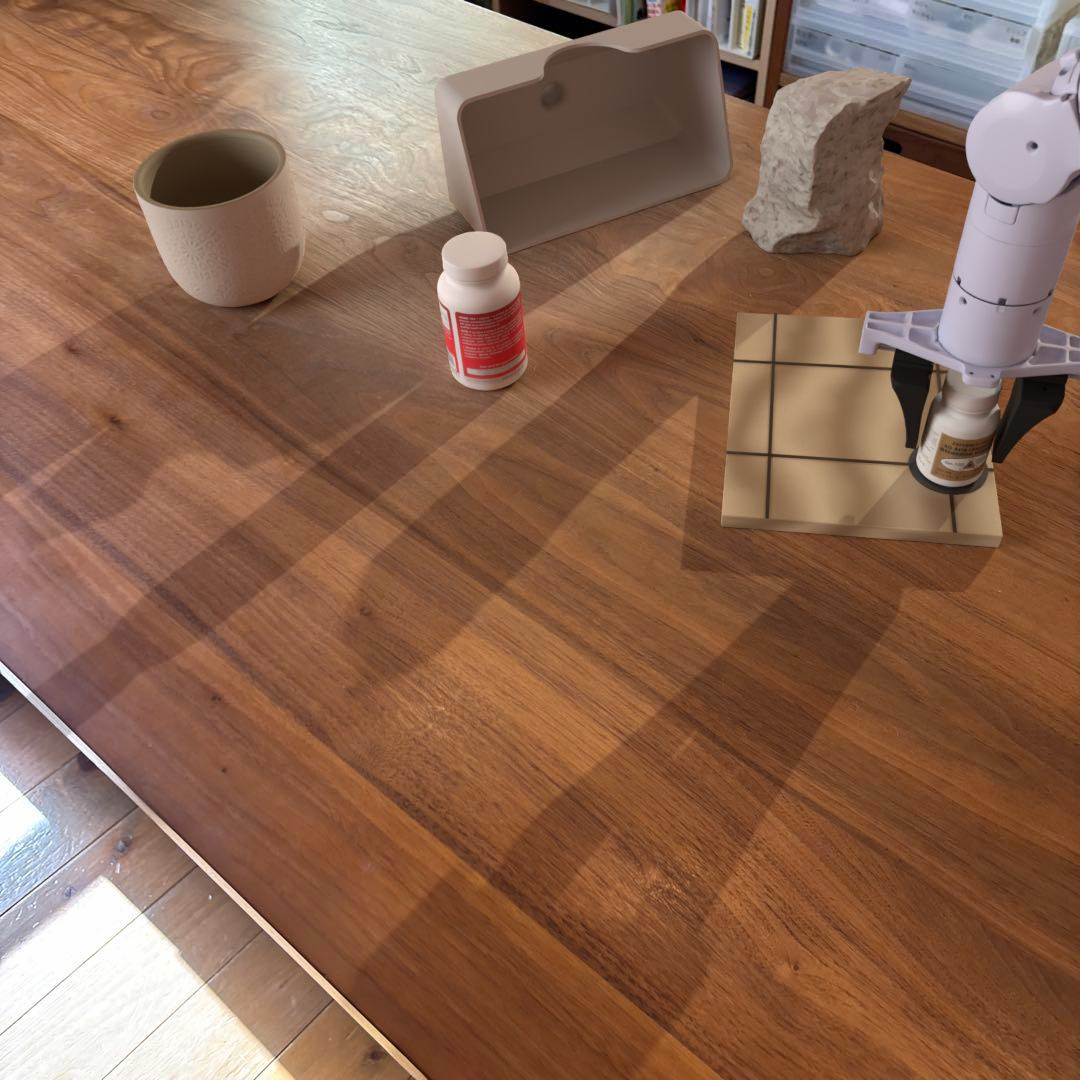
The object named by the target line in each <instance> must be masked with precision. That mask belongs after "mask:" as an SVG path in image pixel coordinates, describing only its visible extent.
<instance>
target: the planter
mask: <svg viewBox="0 0 1080 1080" xmlns="http://www.w3.org/2000/svg"><path fill="white" fill-rule="evenodd" d="M293 179H294V178H293V174H292V171H291V166H290V162H289V159H288V155H287V152H286V149H285V147H284V146H283V144H282V143H281V142H280V141H279V140H277V138H274V136H271V135H269V134H267V133H264V132H262V131H258V130H255V129H246V128H218V129H216V128H215V129H209V130H204V131H200V132H196V133H192V134H188V135H185V136H182V137H179V138H177V139H175V140H172V141H170V142H168V143H166V144H164V145H162V146H160V147H159V148H158V149H156V150H154V151H153V152H152V153H150V154H149V155H148V156H147V157H146V158H145V159H144V160H143V161H141V163H140V164H139V165H138V167H137V168H136V170H135V173H134V175H133V179H132V187H133V190H134V193H135V196H136V198H137V201H138V204H139V206H140V208H141V211H142V213H143V216H144V218H145V221H146V223H147V226H148V228H149V232H150V234H151V237H152V239H153V242H154V244H155V245H156V247H157V250H158V253H159V255H160V257H161V259H162V262H163V264H164V266H165V267H166V269H167V271H168V273H169V275H170V276H171V277H172V279H173V280H174V281H175V282H176V284H177V285H178V286H179V287H180V288H181V289H182V290H183V291H184V292H186V294H188V295H189V296H191V297H192V298H194V299H196V300H198V301H200V302H201V303H205V304H208V305H211V306H215V307H222V308H239V307H240V308H241V307H246V306H247V307H248V306H251V305H255V304H259V303H261V302H265V301H267V300H268V299H271V298H273V297H275V296H276V295H277V294H280V292H282V291H283V290H285V289H286V288H287V287H288V286H289V285H290V284H291V282H292V281H294V279H295V278H296V277H297V275H298V274H299V271H300V270H301V267H302V265H303V261H304V256H305V250H306V249H305V248H306V236H305V227H304V226H305V225H304V222H303V217H302V213H301V212H302V211H301V208H300V203H299V198H298V195H297V191H296V187H295V183H294V180H293Z"/></svg>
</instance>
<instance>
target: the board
mask: <svg viewBox="0 0 1080 1080" xmlns="http://www.w3.org/2000/svg"><path fill="white" fill-rule="evenodd" d="M864 321H865V317H864V318H861V317H844V316H843V317H841V316H840V317H839V316H819V315H799V314H796V315H795V314H778V313H777V312H775V313H754V312H753V313H752V312H737V314H736V321H735V322H736V323H735V325H736V326H735V336H734V337H735V338H734V339H735V340H734V348H733V361H732V362H733V364H732V376H731V389H730V401H729V414H728V424H727V425H728V426H727V438H726V439H727V440H726V451H725V453H726V454H725V464H724V465H725V467H724V477H723V478H724V479H723V490H722V502H721V506H722V507H721V517H720V527H722V528H736V529H747V530H762V531H775V532H786V533H787V532H788V533H802V534H814V535H828V536H839V537H854V538H865V539H866V538H867V539H877V540H878V539H879V540H880V539H881V540H891V541H892V540H893V541H894V540H895V541H905V542H906V541H908V542H919V543H930V544H931V543H932V544H945V545H946V544H947V545H959V546H972V547H974V546H975V547H985V548H997V549H998V548H1000V545H1001V543H1002V540H1003V537H1004V535H1003V533H1004V532H1003V526H1002V521H1001V512H1000V505H999V499H998V492H997V485H996V484H997V483H996V478H995V468H994V464H993V462H991V461H992V449H990V452H989V455H988V457H987V460H986V463H985V466H984V469H983V472H982V474H981V475H980V477H979V478H978V479H977V480H976V481H974V482H973V483H971V484H969V485H965V486H960V487H948V486H943V485H940V484H937V483H935V482H933V481H931V480H929V479H928V478H927V477H925V476H924V475H923V474H922V473H921V471H920V470H919V468H918V466H917V462H916V458H917V453H918V449H919V446H920V442H921V438H922V434H923V431H924V427H925V423H926V419H927V416H928V412H929V408H930V405H931V402H932V400H933V399H934V397H935V396H936V395H937V394H938V393H940V392H941V391H942V386H943V384H944V380H945V377H946V374H947V372H948V371H949V370H950V368H947V367H945V366H942V365H939V364H937V363H934V367H933V371H932V376H931V382H930V389H929V393H928V396H927V399H926V403H925V406H924V409H923V413H922V418H921V425H920V431H919V437H918V443H917V446H916V449H910V448H906V447H905V443H906V428H905V420H904V416H903V411H902V408H901V405H900V402H899V400H898V398H897V395H896V393H895V392H894V390H893V388H892V384H891V378H890V374H891V369H892V363H893V358H894V353H895V352H892V351H886V350H879V349H877V353H876V354H875V355H868V354H862V353H859V346H860V341H861V336H862V331H863V326H864Z"/></svg>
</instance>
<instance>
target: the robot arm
mask: <svg viewBox="0 0 1080 1080" xmlns="http://www.w3.org/2000/svg"><path fill="white" fill-rule="evenodd" d="M965 154H966V160H967V164H968V168H969V170H970V172H971V174H972V176H973V177H974V179H975V183H974V187H973V191H972V194H971V198H970V201H969V204H968V209H967V214H966V217H965V221H964V225H963V229H962V231H961V232H962V233H961V237H960V241H959V245H958V249H957V252H956V256H955V260H954V264H953V269H952V273H951V278H950V281H949V285H948V288H947V293H946V297H945V300H944V305H943V308H935V309H934V308H933V309H921V310H909V311H875V310H867V311H866V312H865V317H864V318H865V321H864V326H863V331H862V336H861V341H860V346H859V353H862V354H868V355H875V354H876V353H877V349H879V350H886V351H892V352H895V353H894V358H893V363H892V369H891V374H890V378H891V384H892V388H893V390H894V392H895V393H896V395H897V398H898V400H899V402H900V405H901V408H902V411H903V416H904V420H905V428H906V443H905V447H906V448H910V449H916V446H917V443H918V437H919V431H920V425H921V418H922V413H923V409H924V406H925V403H926V399H927V396H928V393H929V389H930V382H931V376H932V371H933V367H934V363H937V364H939V365H942V366H945V367H947V368H950V369H952V370H955V371H958V372H960V373H962V381H963V382H964V383H965V384H967V385H970V386H977V387H983V388H996V387H997V386H998V385H999V382H1000V379H1014V381H1013V385H1012V388H1011V392H1010V395H1009V398H1008V401H1007V404H1006V406H1005V408H1004V411H1003V413H1002V415H1001V417H1000V422H999V425H998V428H997V431H996V434H995V437H994V440H993V443H992V449H991V455H992V461H991V462H993V463H994V464H1000V465H1001V464H1003V463H1004V461H1005V460H1006V458H1007V457H1008V455H1009V454H1010V452H1011V451H1012V450H1013V449H1014V447H1015V446H1016V445H1018V443H1019V441H1021V440H1022V438H1023V437H1024V436H1025V435H1026V434H1027V433H1028V432H1029V431H1031V430H1032V429H1033V428H1034V427H1036V426H1037V425H1038V424H1040V423H1041V422H1043V421H1044V420H1046V419H1047V418H1049V417H1051V416H1053V415H1055V414H1057V412H1058V411H1059V409H1060V408H1061V406H1062V405H1063V403H1064V401H1065V396H1066V385H1067V383H1068V380H1069V378H1070V379H1076V380H1080V336H1078V335H1076V334H1073V333H1070V332H1067V331H1064V330H1062V329H1059V328H1055V327H1054V326H1051V325H1047V324H1045V322H1046V319H1047V315H1048V314H1049V310H1050V308H1051V307H1050V306H1051V304H1052V301H1053V298H1054V295H1055V293H1056V292H1055V291H1056V289H1057V286H1058V283H1059V281H1060V277H1061V274H1062V271H1063V269H1064V266H1065V262H1066V260H1067V257H1068V254H1069V251H1070V249H1071V245H1072V243H1073V240H1074V236H1075V234H1076V231H1077V229H1078V224H1079V221H1080V45H1079V46H1076V47H1074V48H1072V49H1070V50H1069V51H1067V52H1065V53H1063V54H1062V55H1061V56H1060V58H1056V59H1054V60H1053V61H1050V62H1048V63H1045V65H1043V66H1042V67H1040V68H1039V69H1036V71H1034V72H1033V73H1031V74H1029V75H1027V76H1026V77H1024V78H1023V79H1022V80H1020V81H1018V82H1017V83H1015V84H1014V85H1012V86H1011V87H1009V88H1007V89H1006V90H1004V91H1003V92H1002V93H1000V94H998V95H996V96H995V97H994V98H992V99H991V100H990V101H989V102H988V103H986V104H985V105H984V106H983V107H982V108H981V109H980V110H978V112H977V113H976V115H974V117H973V119H972V121H971V122H970V125H969V127H968V129H967V134H966V137H965Z"/></svg>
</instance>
